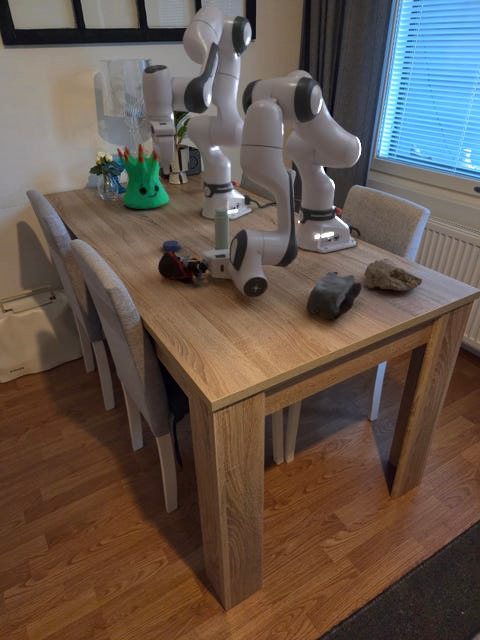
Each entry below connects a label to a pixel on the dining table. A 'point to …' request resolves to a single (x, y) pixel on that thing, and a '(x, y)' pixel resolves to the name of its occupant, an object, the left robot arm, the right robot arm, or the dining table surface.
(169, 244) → the lid
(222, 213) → the pale green cylinder
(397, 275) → the artifact
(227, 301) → the dining table surface
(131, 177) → the toy
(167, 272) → the toy
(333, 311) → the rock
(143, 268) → the dining table surface
